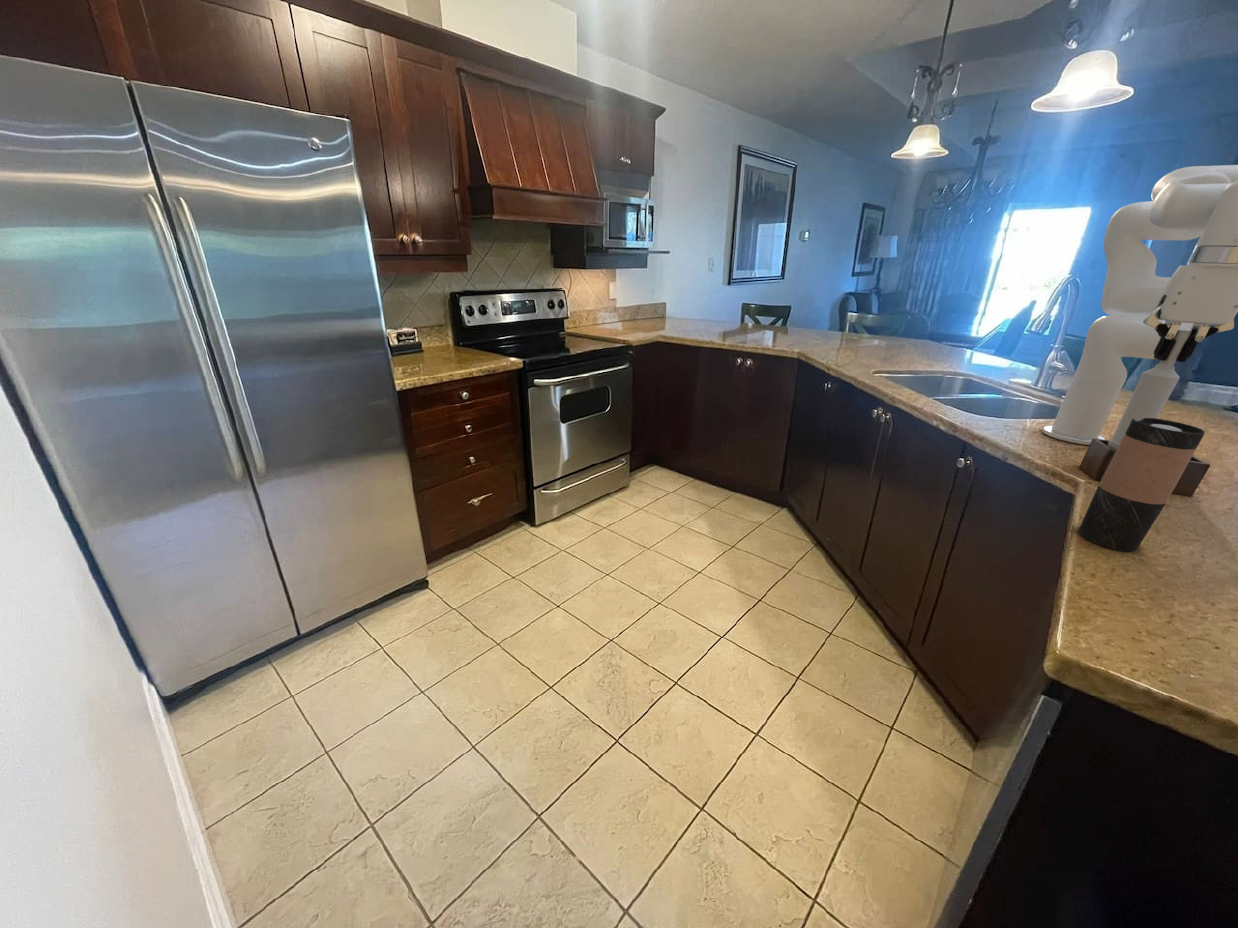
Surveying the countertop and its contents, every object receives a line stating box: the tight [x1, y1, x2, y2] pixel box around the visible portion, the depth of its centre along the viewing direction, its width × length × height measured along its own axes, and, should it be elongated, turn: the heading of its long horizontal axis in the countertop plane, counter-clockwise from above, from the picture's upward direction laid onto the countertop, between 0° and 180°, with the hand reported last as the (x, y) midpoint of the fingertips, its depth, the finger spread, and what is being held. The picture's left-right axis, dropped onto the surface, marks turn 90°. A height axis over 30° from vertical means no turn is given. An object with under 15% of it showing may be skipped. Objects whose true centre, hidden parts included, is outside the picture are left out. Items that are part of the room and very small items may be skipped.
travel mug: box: [1078, 418, 1206, 552], centre depth 74 cm, size 8×8×20 cm
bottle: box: [1107, 330, 1191, 450], centre depth 95 cm, size 5×5×25 cm
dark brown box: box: [1078, 438, 1211, 497], centre depth 100 cm, size 8×15×7 cm, turn 65°
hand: (1169, 359), depth 93 cm, fingers closed on bottle, 2 cm apart
